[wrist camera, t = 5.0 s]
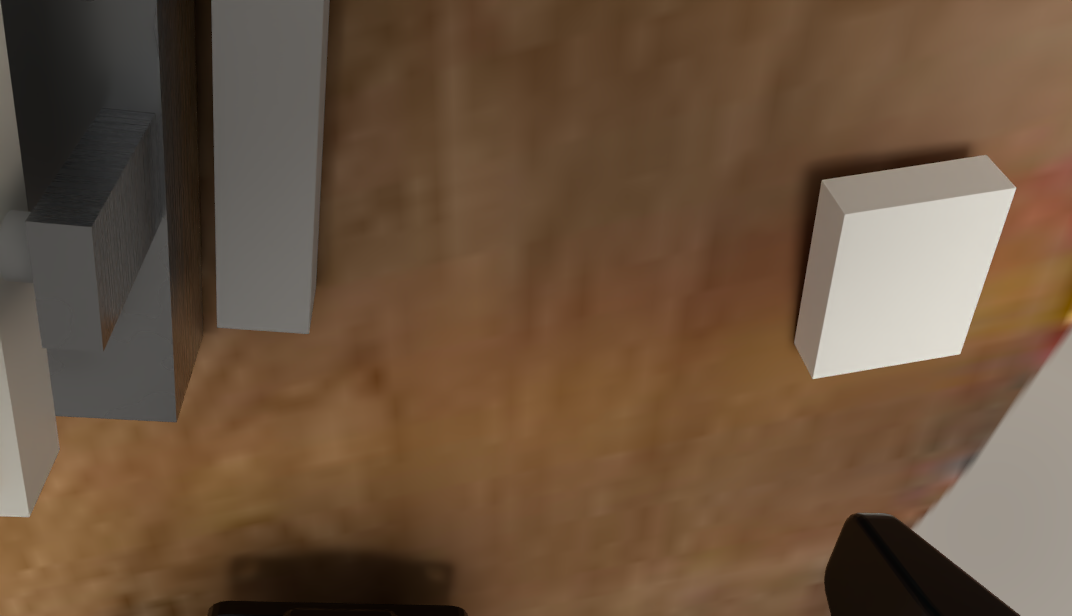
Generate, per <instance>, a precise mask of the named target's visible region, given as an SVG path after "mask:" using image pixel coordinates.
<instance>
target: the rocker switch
mask: <svg viewBox="0 0 1072 616" xmlns="http://www.w3.org/2000/svg"><path fill="white" fill-rule="evenodd" d="M30 213H31V212H28V205H27V198H26V190H25V183H24V175H23V167H22V160H21V152H20V145H19V137H18V130H17V122H16V114H15V107H14V99H13V92H12V84H11V77H10V69H9V62H8V54H7V46H6V39H5V31H4V24H3V16H2V9H1V1H0V516H10V517H30V515H31V513H32V511H33V508H34V506H35V504H36V502H37V499H38V497H39V495H40V493H41V490H42V488H43V486H44V484H45V481H46V479H47V477H48V475H49V472H50V470H51V468H52V466H53V463H54V461H55V459H56V457H57V454H58V452H59V450H60V448H59V440H58V432H57V425H56V417H55V410H54V402H53V395H52V387H51V379H50V372H49V364H48V357H47V349H46V348H42V343H41V336H40V329H39V321H38V314H37V307H36V300H35V292H34V285H33V278H32V270H31V263H30V256H29V248H28V241H27V234H26V227H25V220H26V219H27V217H28V216H29V214H30Z"/></svg>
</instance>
